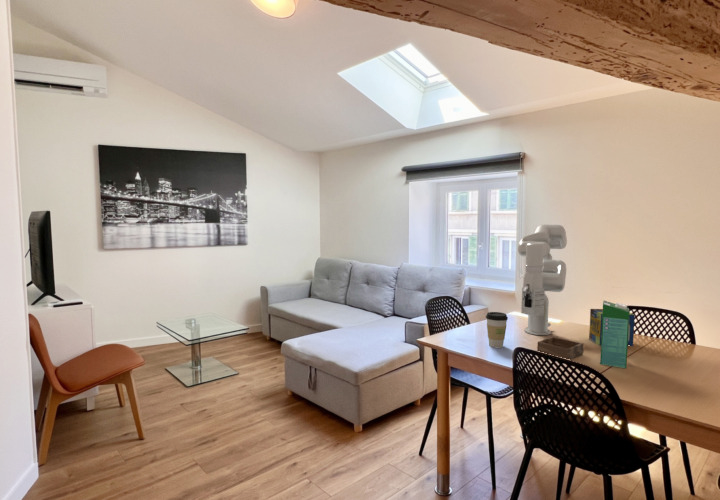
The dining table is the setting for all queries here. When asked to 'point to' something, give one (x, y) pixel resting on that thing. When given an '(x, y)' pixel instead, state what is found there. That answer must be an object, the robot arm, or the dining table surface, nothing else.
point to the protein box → (596, 326)
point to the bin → (561, 347)
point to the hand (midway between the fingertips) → (532, 305)
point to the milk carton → (614, 334)
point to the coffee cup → (496, 328)
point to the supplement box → (534, 303)
